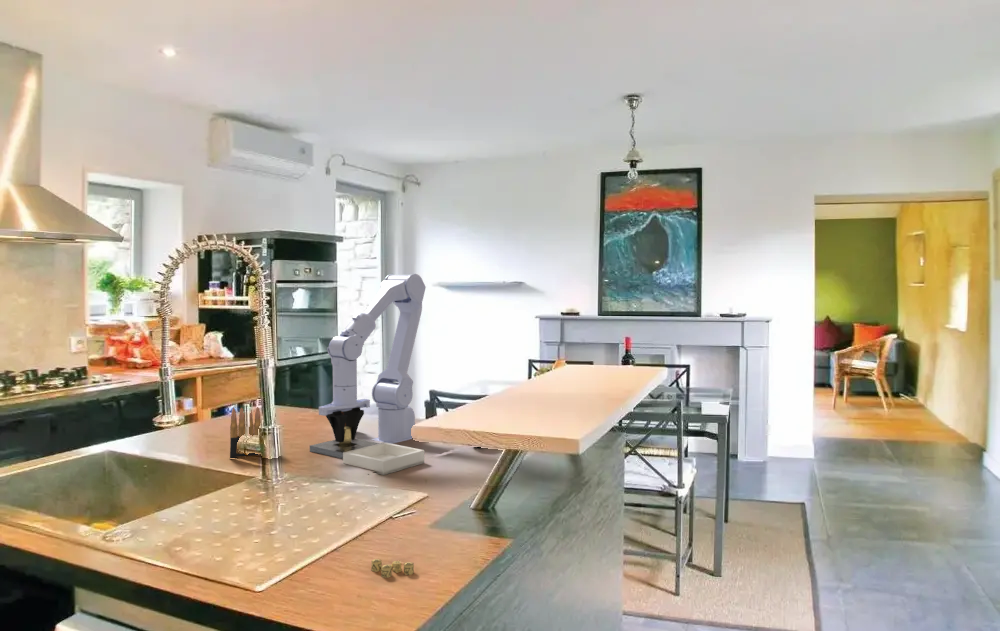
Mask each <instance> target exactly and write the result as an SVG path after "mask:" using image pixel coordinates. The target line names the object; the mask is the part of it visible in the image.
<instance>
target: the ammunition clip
mask: <svg viewBox="0 0 1000 631" xmlns="http://www.w3.org/2000/svg"><path fill="white" fill-rule="evenodd" d="M243 411H244V408H243V407H240V409H239V415H238V416H239V417H238V418H239V419H238V418H237V413H236V409H235V407H233V408H232V410H231V416H230V426H229V427H230V430H229V435H230V440H229V441H230V446H229V447H230V448H229V459H230V458H239V457H249V456H250V457H251V456H259V455H258V454H255V453H249V454H248V456H246V455H245V454H244V453H243V452H241V451H239V449H237V442H238V440H239V438H240V437H241V436H242V435H244V434H245V426H244V417H245V412H244V413H243ZM276 416H277V415H276V414H275V417H276ZM237 420H238V422H237ZM261 420H262V419H261V412H260V408H259V407H258V406H257V407H256V409H255V413H254V419H253V411H252V409H251V413H250V427H249V434H250V435H252V436H253V435H258V429H259V426H260V423H261V424H262V422H261Z"/></svg>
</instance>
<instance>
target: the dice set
mask: <svg viewBox="0 0 1000 631" xmlns="http://www.w3.org/2000/svg"><path fill="white" fill-rule="evenodd" d="M382 562H383V561H382V559H380V558H374V559H372V560H371V571H372V572H373V573H374V572H381V578H384V579H386V578H387V579H388V578H390V577H392V572H394V573H395V574H397V573H401V572H403V575H406V576H412V575H413V574H414V572H415V570H414V569H415V568H414V566H415V564H414V562H410V561H408V562H405V563H403V568H402V562H401V560H394V561H392V563H391V564H383V565H382Z"/></svg>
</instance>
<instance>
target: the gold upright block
mask: <svg viewBox="0 0 1000 631" xmlns="http://www.w3.org/2000/svg"><path fill="white" fill-rule="evenodd" d="M339 446H340V447H349V446H352V432H351V427H345V428H344V441H343V442H339Z"/></svg>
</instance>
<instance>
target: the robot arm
mask: <svg viewBox="0 0 1000 631" xmlns="http://www.w3.org/2000/svg"><path fill="white" fill-rule="evenodd" d="M426 288H427V286H426V284H425V282H424V280H423V278H422V276H420V274H417V273H412V274H394V273H390V274H387V275H386V277H384V280H382V281H381V282H380V289H379V290H378V291H377V293H376V295H375V296H374V298H373V299H372V300H371V302H370V304H369V305H368V306H367V308H366V309H365V310H364V312H359V313H357V314H354V315H353V316H352V317H351V320H350V322H349V323H348V324H347V326H346V327H345V328H344V329H342V331H341V333H340V335H336V336H334V337H333V338H332V339H331V340H330V341H329V344H328V347H326V352H327V354H328V356H329V357H330V359H331V360H330V363H331V366H332V401H331V403H328V404H325V405H321V406H318V415H319V416H325V417H326V419H327V420H328V422H329V424H330V426H331V428H332V429H331V430H332V431H333V435H334V440H336V442H343V441H344V428H345V422H346V427H351V432H352V440H354V439H356V435H357V431H358V427H359V424H360V422H361V420H362V418H363V417H364V415H365V410H364V408H366V409H367V408H371V402H370V401H371V400H370V399H367V398H362V399H358V375H357V374H358V368H357V367H358V366H357V365H358V361H357V360H358V358H360V357H361V355H362V352H363V348H364V345H365V342H366V341H367V339H368V338H369V337H370V335H372V333H373V331H374V330H375V329H376V325H377V324H376V321H377V320H378V319H379V318H380V316H381V315H382V314H384V312H385V311H386V310H387V308H389V307H390V305H391V304H392V303H393V304H394V305H395V306H396V307H397V309H398V310H399V312H400V313H399V316H398V321H397V325H396V330H395V333H394V337H393V341H392V346H391V350H390V353H389V356H388V361H387V366H386V368H385V369H384V370H383V371H381V373H379V374H378V376H377V379H376V381H375V383H374V384H373V387H372V389H371V398H372V400H373V402H374V403H375V404H376V408H377V412H378V413H377V415H378V418H377V419H378V420H377V423H378V433H377V434H378V436H377V437H375V438H371V440H372V441H375V442H379V443H384V442H386V443H391V444H397V443H401V442H405V441H409V440H412V436H411V428H412V426H413V425H415V426H416V415H415V411H414V409H413V408H412V406H410V403H411V402H412V400H413V384H414V380H413V378H411V376H410V375H409V373H408V370H409V365H410V363H411V358H412V353H413V351H414V345H415V342H416V337H417V333H418V328H419V325H420V321H421V317H422V316H421V315H422V311H423V301H424V295H425V291H426ZM341 412H343V413H344V415H343V413H341Z"/></svg>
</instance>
